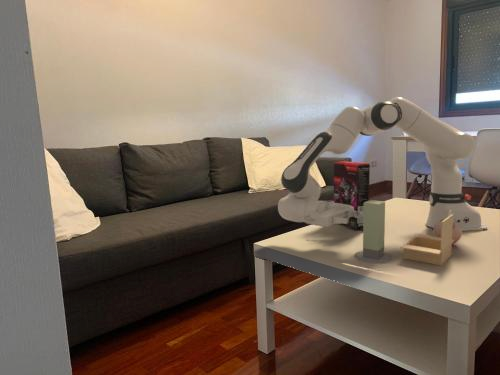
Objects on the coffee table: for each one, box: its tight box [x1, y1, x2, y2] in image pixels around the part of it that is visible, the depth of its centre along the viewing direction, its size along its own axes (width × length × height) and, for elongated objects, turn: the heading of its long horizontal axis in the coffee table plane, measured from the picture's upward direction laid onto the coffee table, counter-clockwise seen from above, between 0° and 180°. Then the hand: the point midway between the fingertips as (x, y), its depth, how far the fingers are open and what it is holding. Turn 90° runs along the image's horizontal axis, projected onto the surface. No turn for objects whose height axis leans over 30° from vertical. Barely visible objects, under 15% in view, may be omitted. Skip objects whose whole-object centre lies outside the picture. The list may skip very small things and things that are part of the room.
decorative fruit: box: [432, 220, 463, 245], centre depth 138 cm, size 9×8×10 cm
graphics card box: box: [333, 160, 371, 231], centre depth 168 cm, size 17×7×27 cm, turn 23°
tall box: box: [362, 199, 386, 260], centre depth 127 cm, size 5×5×18 cm
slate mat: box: [354, 250, 394, 264], centre depth 129 cm, size 12×12×1 cm
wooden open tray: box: [400, 214, 454, 266], centre depth 126 cm, size 11×17×14 cm, turn 139°
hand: (354, 218), depth 131 cm, fingers open, 8 cm apart
